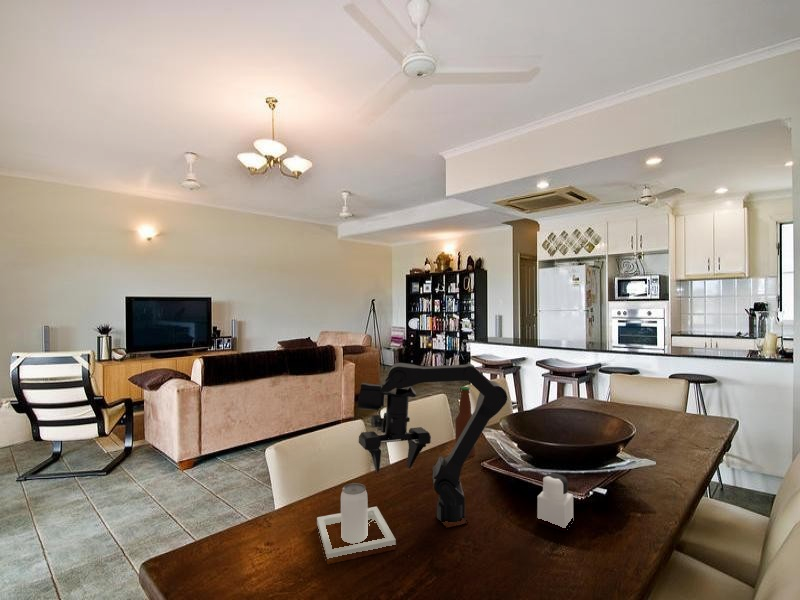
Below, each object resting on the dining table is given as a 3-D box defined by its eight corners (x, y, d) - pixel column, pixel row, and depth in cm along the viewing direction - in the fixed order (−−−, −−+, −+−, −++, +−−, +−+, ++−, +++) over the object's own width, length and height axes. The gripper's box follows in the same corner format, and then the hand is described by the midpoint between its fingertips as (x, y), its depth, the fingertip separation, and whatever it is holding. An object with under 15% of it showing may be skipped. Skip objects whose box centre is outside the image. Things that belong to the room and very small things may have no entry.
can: (341, 547, 96) (341, 496, 96) (340, 531, 102) (339, 483, 102) (369, 543, 97) (369, 493, 97) (366, 528, 104) (365, 481, 103)
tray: (376, 515, 111) (376, 506, 111) (395, 550, 96) (395, 539, 96) (317, 527, 106) (316, 517, 106) (327, 565, 91) (326, 554, 91)
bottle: (476, 458, 150) (476, 389, 150) (456, 457, 150) (456, 389, 150) (473, 450, 157) (473, 385, 157) (454, 450, 157) (454, 385, 157)
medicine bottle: (546, 512, 112) (546, 468, 112) (573, 521, 108) (573, 475, 108) (536, 523, 107) (536, 477, 107) (564, 533, 102) (564, 485, 102)
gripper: (414, 401, 120) (411, 454, 120) (353, 405, 112) (350, 462, 112) (433, 412, 110) (429, 470, 110) (368, 417, 102) (364, 479, 102)
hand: (393, 470), depth 109 cm, fingers open, 9 cm apart
